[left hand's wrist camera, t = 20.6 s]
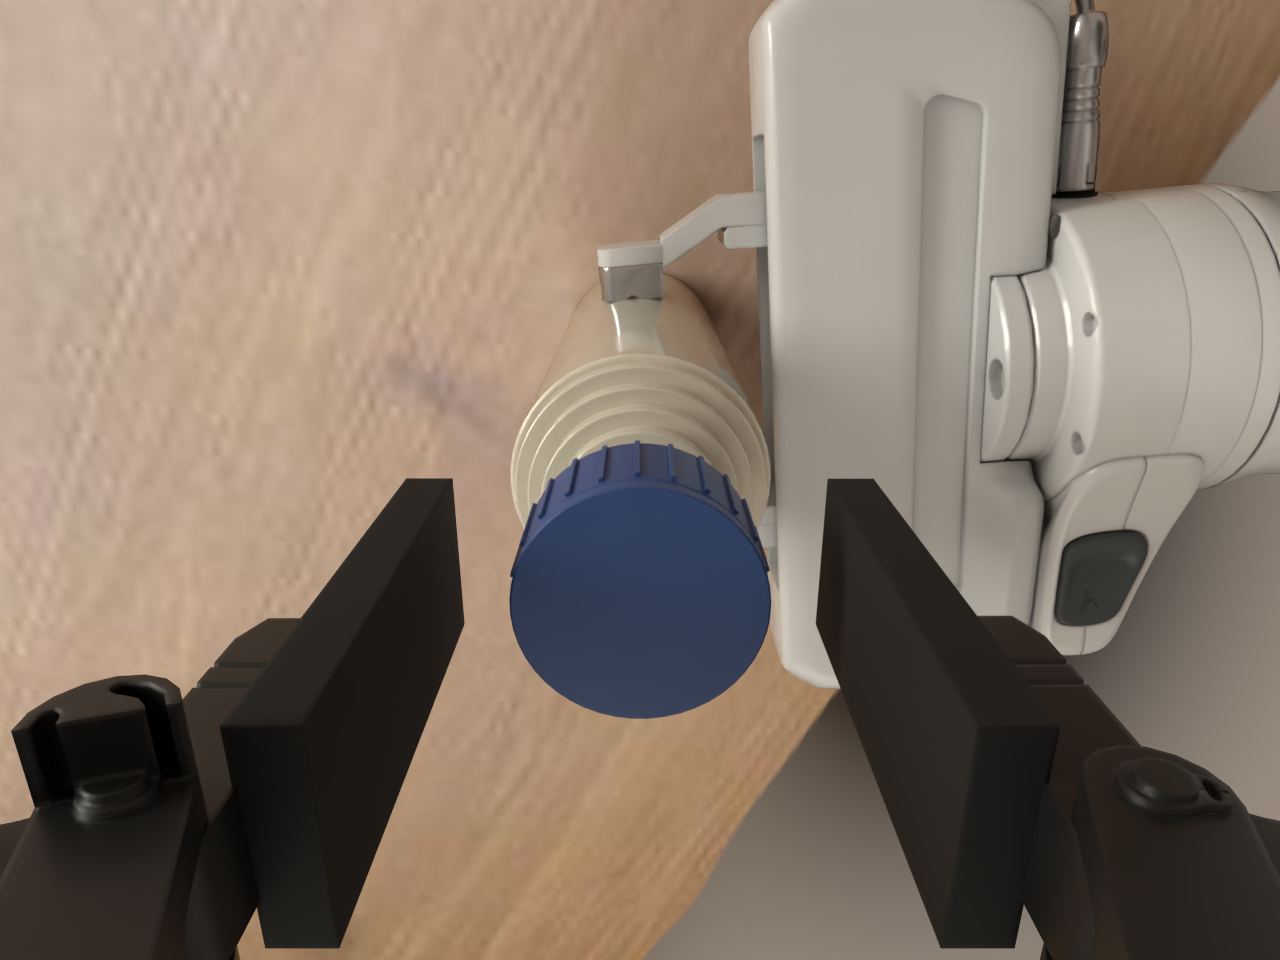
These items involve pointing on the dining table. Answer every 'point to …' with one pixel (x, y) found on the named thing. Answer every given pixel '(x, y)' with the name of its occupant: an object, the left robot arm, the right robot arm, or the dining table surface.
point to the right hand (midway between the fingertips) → (611, 389)
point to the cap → (640, 583)
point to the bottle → (641, 395)
